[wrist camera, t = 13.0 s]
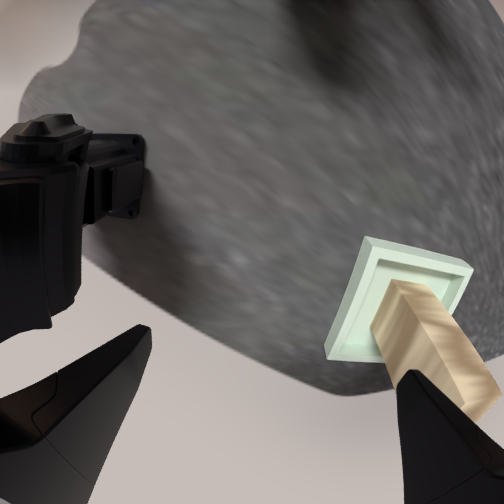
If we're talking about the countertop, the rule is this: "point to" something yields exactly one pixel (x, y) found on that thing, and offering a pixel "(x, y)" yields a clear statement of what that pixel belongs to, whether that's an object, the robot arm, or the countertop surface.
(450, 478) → the robot arm
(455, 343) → the beech block
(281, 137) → the countertop surface
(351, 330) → the green tray
